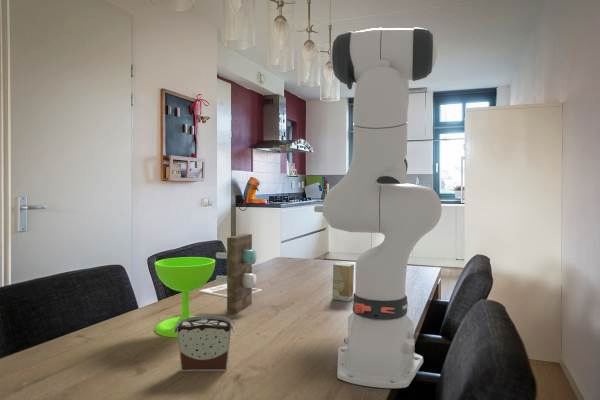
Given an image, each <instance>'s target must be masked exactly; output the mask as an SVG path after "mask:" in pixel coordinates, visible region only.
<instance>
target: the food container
mask: <svg viewBox="0 0 600 400" xmlns="http://www.w3.org/2000/svg"><path fill="white" fill-rule="evenodd" d="M193 316H194V317H189V318H186V319H183V320H180V321H179V322H177V324H176V326H175V330H174V333H175V332H177V336H178V337H177V344H178V352H179V363H180V370H181V372H213V371H215V372H216V371H218V372H221V371H222V372H225V371H227V370H228V363H229V354H230V353H229V351H230V342H231V341H230V340H231V335H232V333H234V332H235V329H234V325H233V323H232V320H231V318H228V317H226V316H221V315H210V314H208V315H207V314H206V315H193ZM231 332H232V333H231Z"/></svg>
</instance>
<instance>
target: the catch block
mask: <svg viewBox="0 0 600 400" xmlns="http://www.w3.org/2000/svg"><path fill="white" fill-rule="evenodd" d="M244 250H253V234H252V233H242V234H237V235H232V236H228V237H227V238H226V253H227V259H226V276H227V282H226V284H227V289H226V295H227V297H226V299H227V300H226V313H227V314H233V315H236V314H238V313H240V312H241V311H243V310H244V309H246V308H248V307H249V306H250V305H252V304H253V297H252V296H253V294H252V292H253V290H252V288H245V287H243V285H242V277H243V275H244V274H245V273H249V274H253V266H252V265H253V264H244V263H243V261H242V253H243V251H244Z"/></svg>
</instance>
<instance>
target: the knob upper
mask: <svg viewBox="0 0 600 400" xmlns="http://www.w3.org/2000/svg"><path fill="white" fill-rule="evenodd" d="M215 257H216V259H226V260H227V252H221V251H220V252H219V251H217V252H216V253H215ZM256 260H257V252H256V250H255V249H252V250H244V251H243V253H242V261H243V263H244V264H252V265H255V263H256Z"/></svg>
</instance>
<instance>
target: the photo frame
mask: <svg viewBox="0 0 600 400" xmlns="http://www.w3.org/2000/svg"><path fill="white" fill-rule="evenodd" d="M225 290H226V291H227V283H225V284H220V285H216V286H212V287H211V286H210V287H208V288H203V289H200V290H198V292H200V293H203V294H208V295H212V296H213V295H214V296H218V297H223V298H227V294H222V293H219V292H221V291H225ZM217 292H218V293H217ZM261 292H263V289H260V288H255V287H254V288H252V295H253V294H257V293H261Z"/></svg>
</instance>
